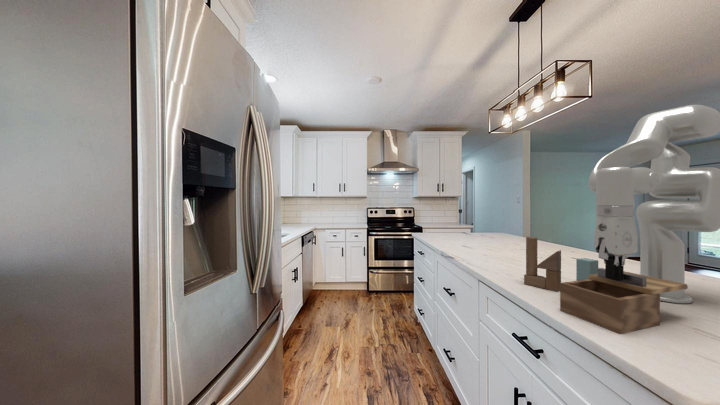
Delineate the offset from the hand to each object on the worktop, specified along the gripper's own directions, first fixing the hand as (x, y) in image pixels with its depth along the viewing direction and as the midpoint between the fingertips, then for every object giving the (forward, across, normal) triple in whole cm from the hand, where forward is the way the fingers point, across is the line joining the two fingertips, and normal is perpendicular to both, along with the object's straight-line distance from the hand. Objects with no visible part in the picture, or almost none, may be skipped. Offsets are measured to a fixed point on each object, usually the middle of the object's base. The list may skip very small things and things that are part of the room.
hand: (614, 279), depth 72 cm
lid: (+2, +9, 0) cm, 9 cm away
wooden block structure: (+10, +4, +24) cm, 26 cm away
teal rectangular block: (+10, +10, +13) cm, 19 cm away
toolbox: (+10, -3, 0) cm, 11 cm away
